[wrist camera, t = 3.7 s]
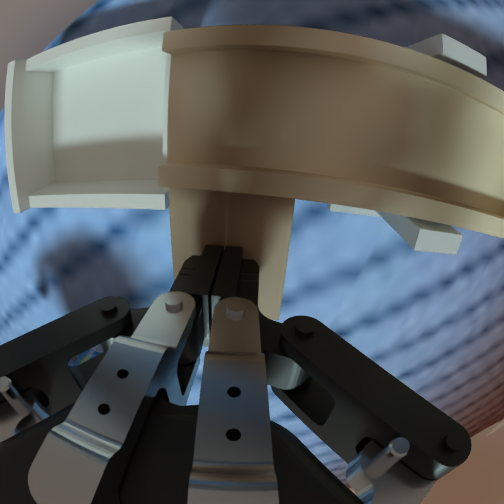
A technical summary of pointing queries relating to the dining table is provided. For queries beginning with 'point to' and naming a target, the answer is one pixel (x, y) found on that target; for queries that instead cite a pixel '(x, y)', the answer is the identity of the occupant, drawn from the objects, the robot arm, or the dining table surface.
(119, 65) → the tray
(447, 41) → the stand
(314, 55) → the lever
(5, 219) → the dining table surface
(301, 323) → the robot arm
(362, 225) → the dining table surface
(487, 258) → the dining table surface
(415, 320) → the dining table surface
